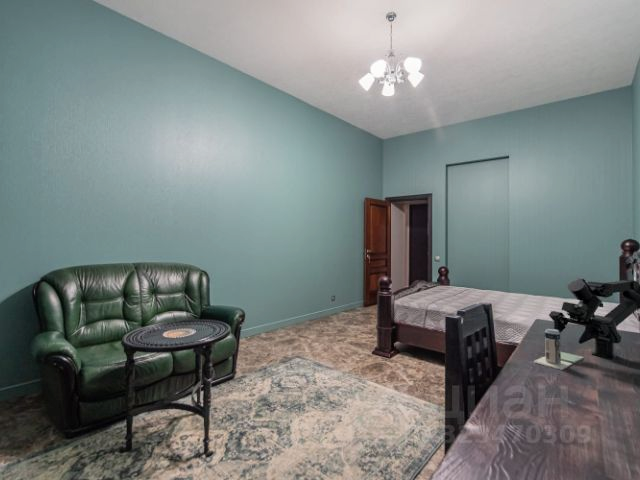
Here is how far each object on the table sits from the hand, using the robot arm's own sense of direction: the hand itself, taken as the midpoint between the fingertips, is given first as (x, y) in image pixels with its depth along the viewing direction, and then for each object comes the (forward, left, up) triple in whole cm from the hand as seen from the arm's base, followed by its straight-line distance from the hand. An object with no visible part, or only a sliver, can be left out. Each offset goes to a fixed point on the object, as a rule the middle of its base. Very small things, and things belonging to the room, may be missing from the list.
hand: (566, 339), depth 121 cm
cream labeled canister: (+7, -2, -8) cm, 11 cm away
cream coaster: (+7, -2, -8) cm, 11 cm away
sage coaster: (-5, -2, -8) cm, 10 cm away
